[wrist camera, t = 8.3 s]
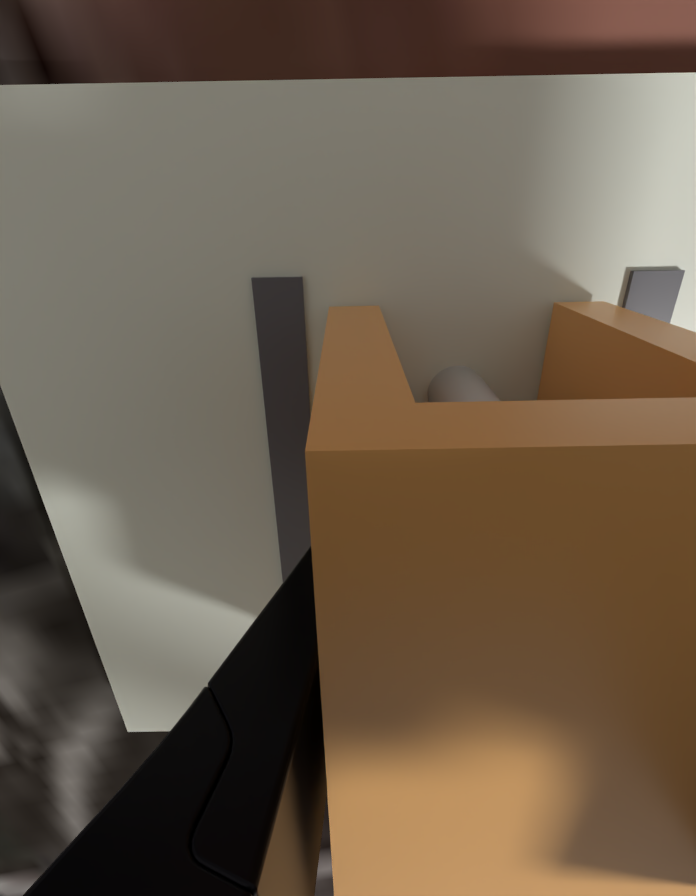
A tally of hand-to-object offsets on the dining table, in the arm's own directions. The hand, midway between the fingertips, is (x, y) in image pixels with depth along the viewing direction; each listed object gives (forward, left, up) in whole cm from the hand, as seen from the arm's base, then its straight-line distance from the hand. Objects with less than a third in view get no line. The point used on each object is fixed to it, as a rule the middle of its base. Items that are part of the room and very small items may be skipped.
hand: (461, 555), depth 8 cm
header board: (0, 0, -2) cm, 2 cm away
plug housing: (0, 0, -1) cm, 1 cm away
